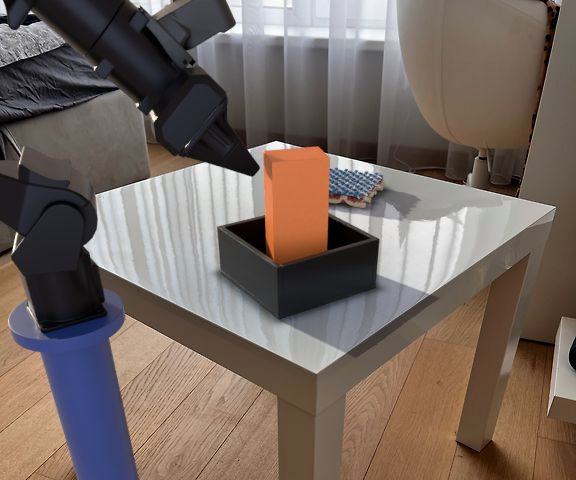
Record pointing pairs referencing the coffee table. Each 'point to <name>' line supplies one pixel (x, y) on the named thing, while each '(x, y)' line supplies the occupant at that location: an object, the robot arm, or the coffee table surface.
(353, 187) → the woven mat
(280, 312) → the bin
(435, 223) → the coffee table surface
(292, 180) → the block
